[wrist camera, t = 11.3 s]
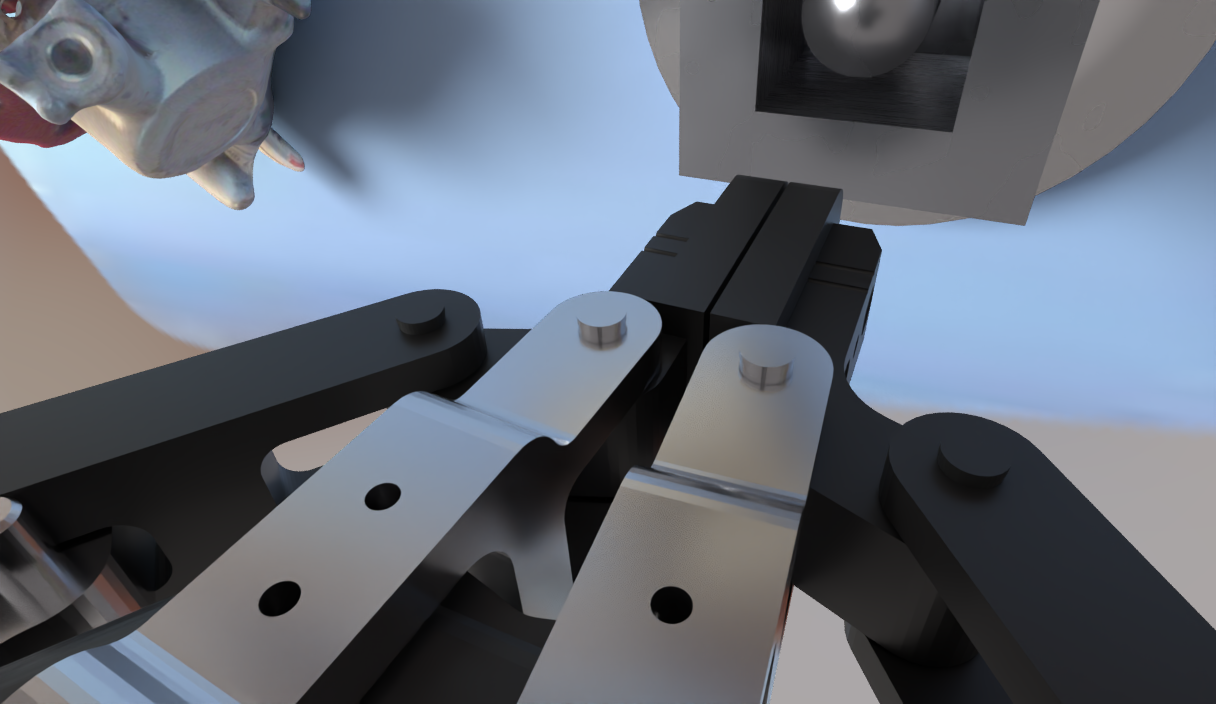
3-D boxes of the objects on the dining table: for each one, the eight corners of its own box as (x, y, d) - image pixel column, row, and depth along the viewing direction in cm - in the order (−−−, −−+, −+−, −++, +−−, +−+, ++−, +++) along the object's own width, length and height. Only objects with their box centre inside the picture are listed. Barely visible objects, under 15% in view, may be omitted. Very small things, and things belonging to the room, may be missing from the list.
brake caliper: (-54, -438, 17) (-316, -130, 11) (413, -158, 22) (394, 133, 17) (-30, -39, 25) (-175, 255, 19) (309, 90, 31) (273, 343, 25)
